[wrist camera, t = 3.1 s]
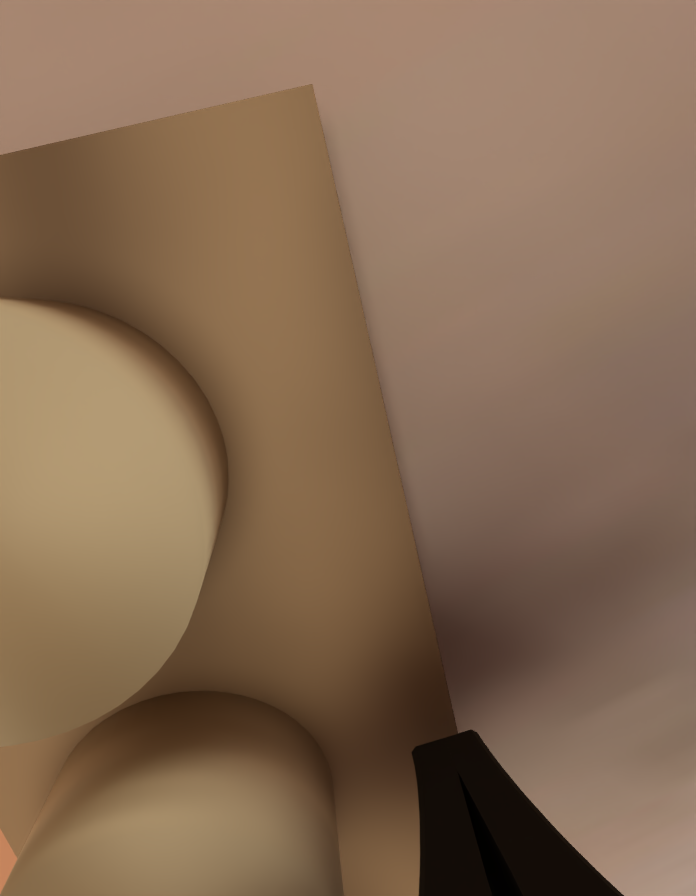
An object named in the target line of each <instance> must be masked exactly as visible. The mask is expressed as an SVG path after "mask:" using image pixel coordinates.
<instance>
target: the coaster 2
mask: <svg viewBox="0 0 696 896" xmlns="http://www.w3.org/2000/svg"><path fill="white" fill-rule="evenodd" d="M0 896H344V891H343V881H342V871H341V861H340V851H339V841H338V831H337V821H336V812H335V802H334V792H333V783H332V777H331V772H330V769H329V766H328V763H327V760H326V758H325V756H324V754H323V752H322V750H321V748H320V746H319V745H318V744H317V742H316V741H315V740H314V738H313V737H312V736H311V734H310V733H309V732H308V731H307V730H306V729H305V728H304V727H302V726H301V725H300V724H299V723H298V722H297V721H295V720H294V719H293V718H291V717H290V716H289V715H287V714H286V713H284V712H282V711H280V710H279V709H277V708H275V707H273V706H271V705H269V704H266V703H264V702H261V701H259V700H256V699H254V698H250V697H246V696H242V695H238V694H233V693H226V692H219V691H187V692H177V693H171V694H166V695H161V696H157V697H153V698H150V699H147V700H143V701H140V702H138V703H136V704H133V705H131V706H129V707H126V708H124V709H122V710H120V711H118V712H117V713H115V714H113V715H112V716H110V717H108V718H106V719H105V720H104V721H102V722H101V723H100V724H98V725H97V726H96V727H94V728H93V729H92V730H91V731H90V732H89V733H88V734H87V735H86V736H85V737H84V738H83V739H82V740H81V741H80V742H79V743H78V744H77V746H76V747H75V748H74V749H73V751H72V752H71V753H70V755H69V756H68V758H67V760H66V762H65V764H64V766H63V767H62V769H61V771H60V773H59V775H58V777H57V779H56V781H55V783H54V785H53V787H52V790H51V792H50V794H49V796H48V798H47V800H46V802H45V804H44V806H43V808H42V810H41V812H40V814H39V816H38V818H37V820H36V822H35V824H34V826H33V828H32V830H31V832H30V834H29V836H28V838H27V840H26V842H25V844H24V846H23V849H22V851H21V853H20V855H19V857H18V859H17V861H16V863H15V865H14V867H13V869H12V871H11V873H10V875H9V877H8V879H7V881H6V883H5V885H4V887H3V889H2V891H1V893H0Z"/></svg>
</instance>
